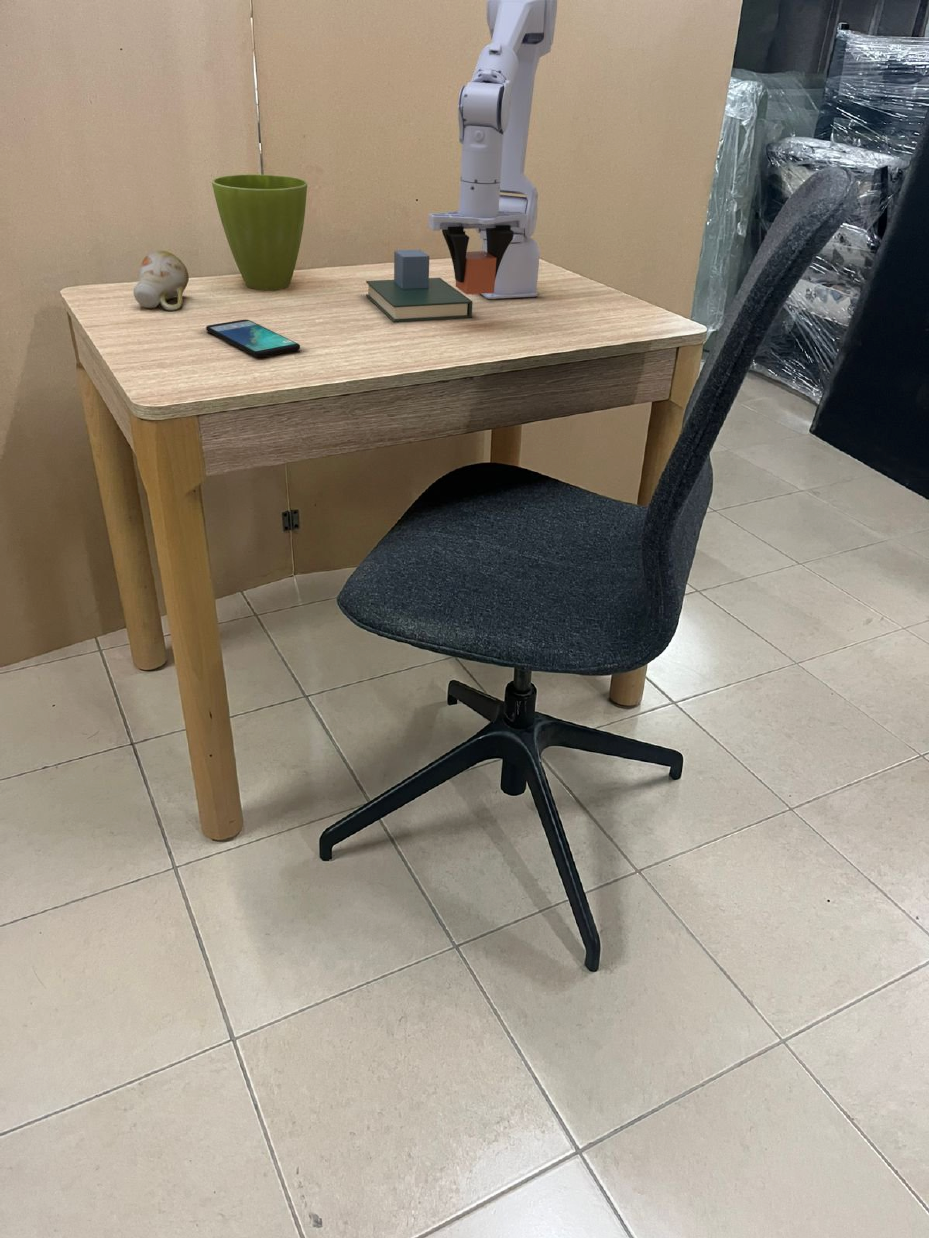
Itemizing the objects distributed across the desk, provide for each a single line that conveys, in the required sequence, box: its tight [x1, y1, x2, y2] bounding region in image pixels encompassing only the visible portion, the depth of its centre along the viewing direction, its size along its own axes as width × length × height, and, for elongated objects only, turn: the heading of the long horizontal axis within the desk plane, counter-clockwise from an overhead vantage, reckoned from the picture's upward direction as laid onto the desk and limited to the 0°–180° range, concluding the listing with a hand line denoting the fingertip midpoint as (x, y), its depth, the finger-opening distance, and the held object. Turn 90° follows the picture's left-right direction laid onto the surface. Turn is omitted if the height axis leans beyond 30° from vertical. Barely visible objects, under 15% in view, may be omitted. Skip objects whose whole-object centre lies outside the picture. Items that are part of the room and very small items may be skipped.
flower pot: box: [211, 173, 308, 291], centre depth 149 cm, size 15×15×16 cm
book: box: [365, 277, 474, 323], centre depth 146 cm, size 13×15×2 cm
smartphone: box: [205, 319, 301, 358], centre depth 127 cm, size 7×1×15 cm
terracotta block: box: [455, 250, 496, 295], centre depth 135 cm, size 4×4×5 cm
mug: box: [132, 250, 190, 311], centre depth 140 cm, size 8×10×10 cm
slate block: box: [393, 249, 430, 289], centre depth 147 cm, size 4×4×5 cm
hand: (474, 280), depth 136 cm, fingers closed on terracotta block, 4 cm apart
